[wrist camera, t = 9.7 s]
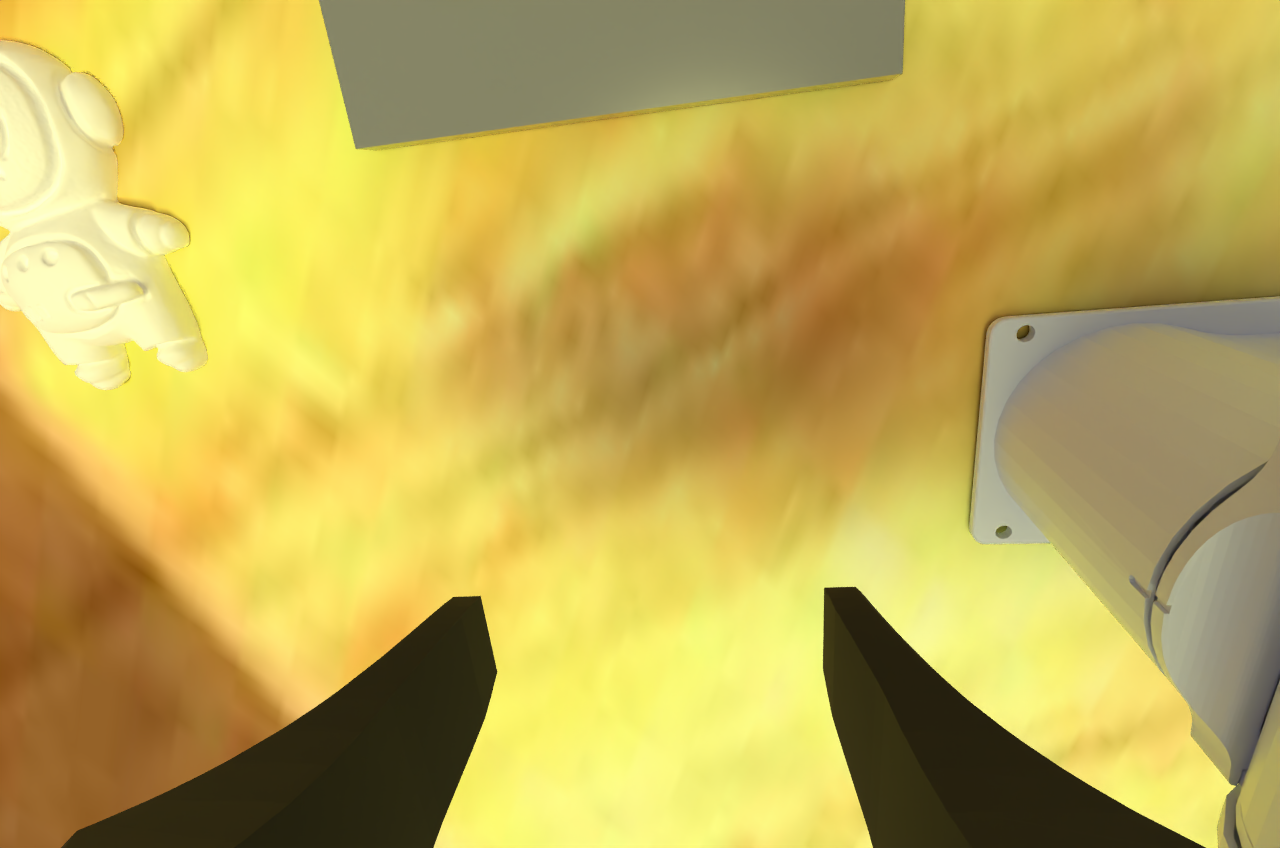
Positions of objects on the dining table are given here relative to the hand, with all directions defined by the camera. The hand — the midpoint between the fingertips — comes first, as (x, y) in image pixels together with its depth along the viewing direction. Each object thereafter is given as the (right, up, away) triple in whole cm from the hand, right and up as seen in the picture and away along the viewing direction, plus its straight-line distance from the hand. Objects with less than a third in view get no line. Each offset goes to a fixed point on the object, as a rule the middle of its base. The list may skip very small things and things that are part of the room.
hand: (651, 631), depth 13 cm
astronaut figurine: (-21, +12, +11) cm, 26 cm away
